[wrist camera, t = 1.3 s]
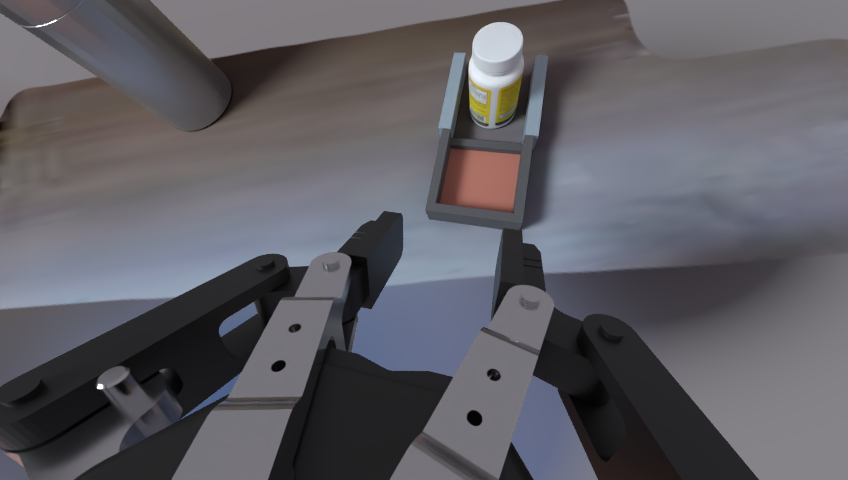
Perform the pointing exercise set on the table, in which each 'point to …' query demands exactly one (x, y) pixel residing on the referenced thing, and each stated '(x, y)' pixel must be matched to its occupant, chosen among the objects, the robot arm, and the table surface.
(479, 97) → the supplement bottle
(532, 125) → the trough
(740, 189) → the table surface
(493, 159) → the trap bin
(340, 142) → the table surface
